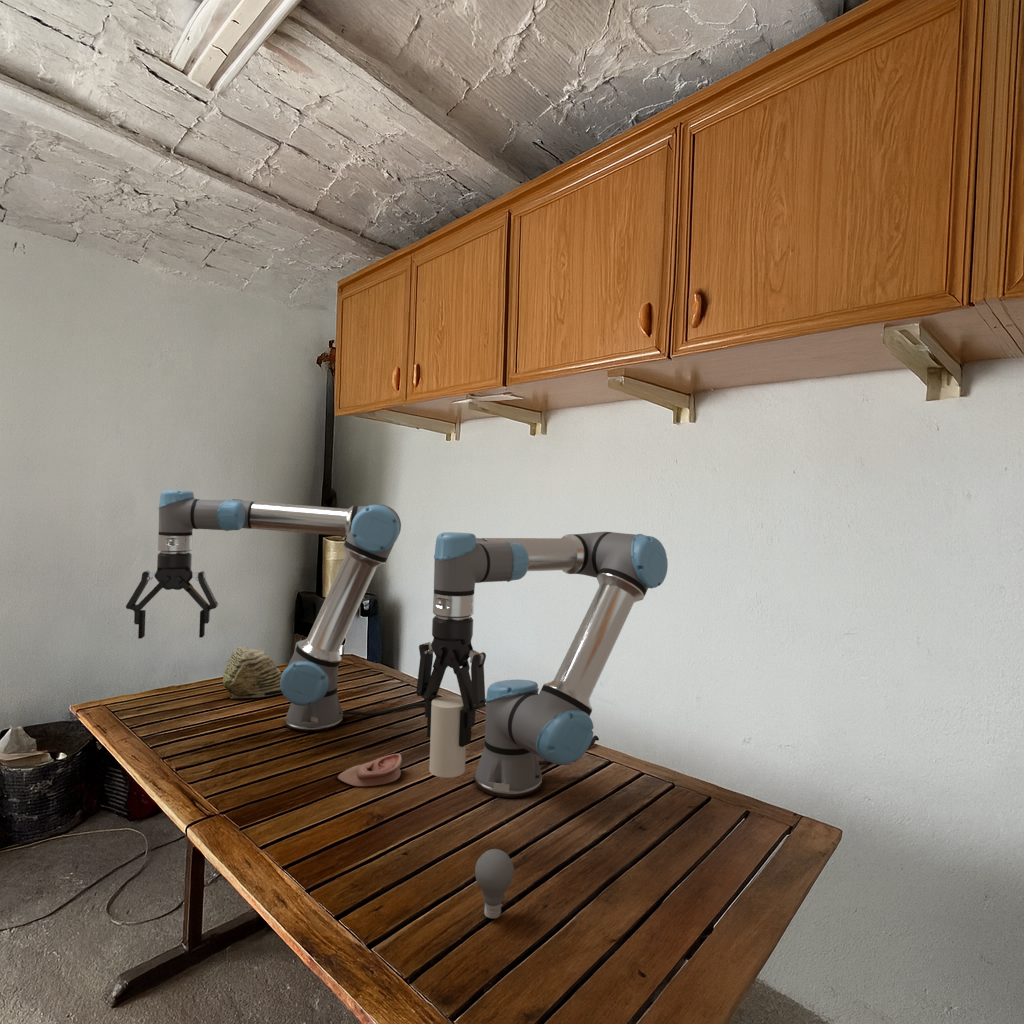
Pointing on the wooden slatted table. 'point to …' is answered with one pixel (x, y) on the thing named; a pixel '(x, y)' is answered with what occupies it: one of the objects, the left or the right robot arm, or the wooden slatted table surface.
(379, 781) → the anatomical model
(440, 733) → the cylinder
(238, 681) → the fossil
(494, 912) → the light bulb
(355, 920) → the wooden slatted table surface
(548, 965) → the wooden slatted table surface
